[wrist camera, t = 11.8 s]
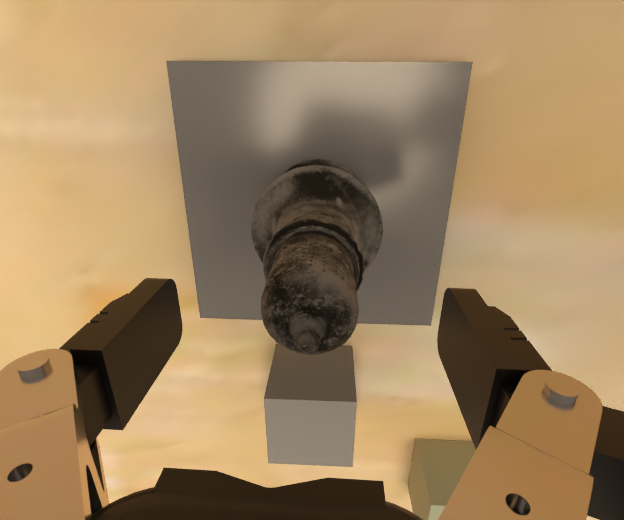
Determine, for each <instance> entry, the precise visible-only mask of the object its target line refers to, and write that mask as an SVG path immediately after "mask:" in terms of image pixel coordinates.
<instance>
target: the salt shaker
mask: <svg viewBox="0 0 624 520" xmlns="http://www.w3.org/2000/svg"><path fill="white" fill-rule="evenodd" d="M251 235H252V239H253V244H254V248H255V250H256V252H257V254H258V256H259V258H260V260H261V261H262V263H263V272H264V276H265V280H266V285H265V288H264V291H263V294H262V297H261V315H262V319H263V323H264V326H265V328H266V329H267V331H268V333H269V334H270V336H271V337H272V338H273V339H274V340H275V341H276V342H277V343H278V344H280V345H282V346H283V347H285V348H286V349H288V350H290V351H293V352H296V353H299V354H304V355H320V354H324V353H327V352H330V351H333V350H335V349H336V348H338V347H340V346H341V345H343V344H344V343H345V342H346V341H347V340H348V339H349V338H350V337H351V335H352V333H353V331H354V329H355V327H356V324H357V320H358V314H359V305H358V298H357V291H358V289H359V287H360V285H361V283H362V280H363V274H364V272H365V270H366V269H367V268H368V267H369V266H370V265H371V264H372V262H373V261H374V259H375V257H376V255H377V253H378V251H379V249H380V245H381V240H382V235H383V225H382V215H381V212H380V209H379V207H378V204H377V202H376V199H375V198H374V196H373V195H372V194H371V192H370V191H369V190H368V188H367V187H366V186H365V184H363V183H362V182H361V181H359V179H358V178H357V177H356V175H355V174H354V173H353V172H351V171H350V170H349V169H347V168H346V167H345V166H343V165H341V164H338V163H336V162H333V161H330V160H321V159H315V160H308V161H303V162H301V163H299V164H297V165H294V166H292V167H291V168H289V169H288V170H287V171H286V172H285V173H283V174H281V175H280V176H279V177H277V178H276V179H275V180H274V181H273V182H271V183H270V184H269V185H268V186H267V187H266V188H265V190H264V191H263V193H262V194H261V196H260V197H259V199H258V200H257V202H256V205H255V208H254V211H253V214H252V221H251Z"/></svg>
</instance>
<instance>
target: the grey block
mask: <svg viewBox="0 0 624 520" xmlns="http://www.w3.org/2000/svg"><path fill="white" fill-rule="evenodd" d="M356 404H357V401H356V388H355V376H354V363H353V350H352V346H340V347H338V348H336V349H335V350H333V351H330V352H327V353H324V354H320V355H304V354H299V353H296V352H293V351H290V350H288V349H286V348H285V347H283V346H282V345H280V344H276V348H275V352H274V357H273V361H272V366H271V370H270V374H269V379H268V383H267V388H266V392H265V397H264V405H265V420H266V435H267V451H268V463H275V464H298V465H320V466H343V467H353V452H354V436H355V420H356Z"/></svg>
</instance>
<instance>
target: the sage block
mask: <svg viewBox="0 0 624 520" xmlns="http://www.w3.org/2000/svg"><path fill="white" fill-rule="evenodd" d="M475 451H476V449H475V446H474V443H473V441H458V440H437V439H416V438H415V443H414V449H413V455H412V461H411V468H410V474H409V480H408V488H409V494H410V499H411V504H412V509H413V514H415V515H417V516H419V517H420V518H422V519H423V520H438V519H439V517H440V515H441V513H442V511H443V510H444V508H445V506H446V504H447V502H448V501H449V499H450V497H451V495H452V493H453V491H454V490H455V488H456V486H457V484H458V482H459V480H460V479H461V477H462V475H463V473H464V471H465V469H466V468H467V466H468V464H469V462H470V460H471V458H472V457H473V455H474V453H475Z"/></svg>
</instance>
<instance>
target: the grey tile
mask: <svg viewBox="0 0 624 520" xmlns="http://www.w3.org/2000/svg"><path fill="white" fill-rule="evenodd" d="M471 68H472V62H329V61H167V69H168V76H169V84H170V92H171V99H172V107H173V114H174V122H175V130H176V137H177V145H178V152H179V160H180V168H181V175H182V183H183V190H184V198H185V206H186V213H187V221H188V228H189V236H190V244H191V251H192V259H193V266H194V274H195V282H196V289H197V297H198V304H199V312H200V318H222V319H252V320H263V319H262V315H261V297H262V294H263V291H264V288H265V285H266V280H265V276H264V272H263V263H262V261H261V260H260V258H259V256H258V254H257V252H256V250H255V248H254V244H253V239H252V235H251V221H252V214H253V211H254V208H255V205H256V202H257V200H258V199H259V197H260V196H261V194H262V193H263V191H264V190H265V188H266V187H267V186H268V185H269V184H270V183H271V182H273V181H274V180H275V179H276V178H277V177H279V176H280V175H281V174H283V173H285V172H286V171H287V170H288V169H289V168H291V167H292V166H294V165H297V164H299V163H301V162H303V161H308V160H315V159H321V160H330V161H333V162H336V163H338V164H341V165H343V166H345V167H346V168H347V169H349V170H350V171H351V172H353V173H354V174H355V175H356V177H357V178H358V179H359V181H361V182H362V183H363V184H365V186H366V187H367V188H368V190H369V191H370V192H371V194H372V195H373V196H374V198H375V199H376V202H377V204H378V207H379V209H380V212H381V215H382V225H383V235H382V240H381V245H380V249H379V251H378V253H377V255H376V257H375V259H374V261H373V262H372V264H371V265H370V266H369V267H368V268H367V269H366V270H365V272H364V274H363V280H362V283H361V285H360V287H359V289H358V291H357V298H358V305H359V314H358V320H357V323H370V324H400V325H429V326H431V321H432V315H433V308H434V302H435V296H436V289H437V283H438V277H439V270H440V264H441V258H442V252H443V245H444V239H445V233H446V226H447V220H448V214H449V207H450V201H451V195H452V188H453V182H454V176H455V169H456V163H457V157H458V150H459V144H460V138H461V131H462V125H463V119H464V112H465V106H466V100H467V93H468V87H469V81H470V74H471Z"/></svg>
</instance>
